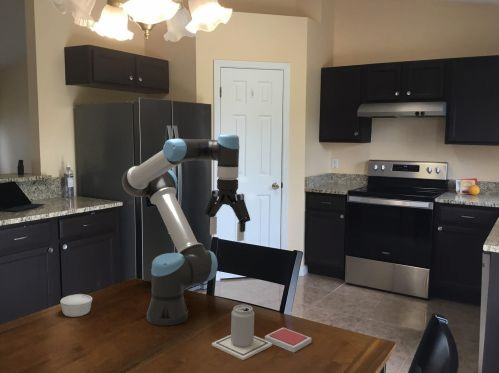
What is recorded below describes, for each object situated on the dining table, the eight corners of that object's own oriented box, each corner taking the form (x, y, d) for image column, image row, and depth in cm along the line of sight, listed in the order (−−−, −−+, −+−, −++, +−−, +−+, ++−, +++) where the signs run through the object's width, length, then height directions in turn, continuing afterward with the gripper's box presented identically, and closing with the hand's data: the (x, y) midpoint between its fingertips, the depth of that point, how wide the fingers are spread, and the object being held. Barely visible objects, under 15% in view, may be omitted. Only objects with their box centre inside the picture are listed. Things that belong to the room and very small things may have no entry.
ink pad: (264, 340, 154) (264, 335, 154) (282, 331, 162) (283, 326, 162) (293, 352, 147) (293, 346, 146) (311, 342, 154) (311, 337, 154)
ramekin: (98, 311, 176) (98, 298, 175) (73, 320, 166) (73, 306, 166) (79, 304, 182) (79, 291, 181) (54, 313, 172) (54, 300, 172)
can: (251, 349, 146) (252, 313, 145) (228, 346, 148) (229, 310, 146) (255, 339, 153) (256, 304, 152) (233, 336, 155) (234, 302, 154)
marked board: (211, 345, 150) (211, 342, 150) (240, 332, 160) (240, 330, 160) (243, 360, 141) (243, 357, 141) (272, 345, 151) (272, 342, 151)
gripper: (261, 181, 157) (259, 241, 159) (211, 175, 173) (210, 230, 176) (246, 182, 151) (245, 245, 154) (196, 176, 168) (195, 233, 170)
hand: (226, 237), depth 165 cm, fingers open, 13 cm apart
